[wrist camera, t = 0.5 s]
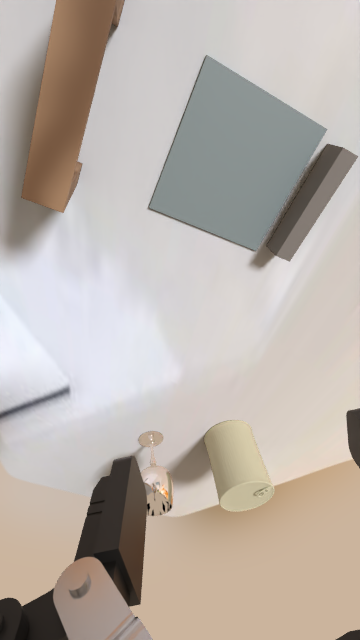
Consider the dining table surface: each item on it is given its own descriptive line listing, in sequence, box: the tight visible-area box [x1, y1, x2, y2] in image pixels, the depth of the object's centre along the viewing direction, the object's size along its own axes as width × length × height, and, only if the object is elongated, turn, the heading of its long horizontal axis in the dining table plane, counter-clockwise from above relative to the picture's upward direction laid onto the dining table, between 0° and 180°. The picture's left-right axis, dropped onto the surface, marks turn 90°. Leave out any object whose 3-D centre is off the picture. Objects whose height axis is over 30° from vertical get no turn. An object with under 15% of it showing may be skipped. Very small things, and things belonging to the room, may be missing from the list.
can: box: [204, 420, 274, 511], centre depth 56 cm, size 9×9×12 cm
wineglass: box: [139, 431, 174, 516], centre depth 53 cm, size 6×6×12 cm
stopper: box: [267, 144, 358, 261], centre depth 36 cm, size 2×12×3 cm, turn 156°
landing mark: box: [149, 55, 327, 251], centre depth 34 cm, size 14×14×1 cm
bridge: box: [21, 0, 125, 213], centre depth 25 cm, size 3×15×10 cm, turn 156°
